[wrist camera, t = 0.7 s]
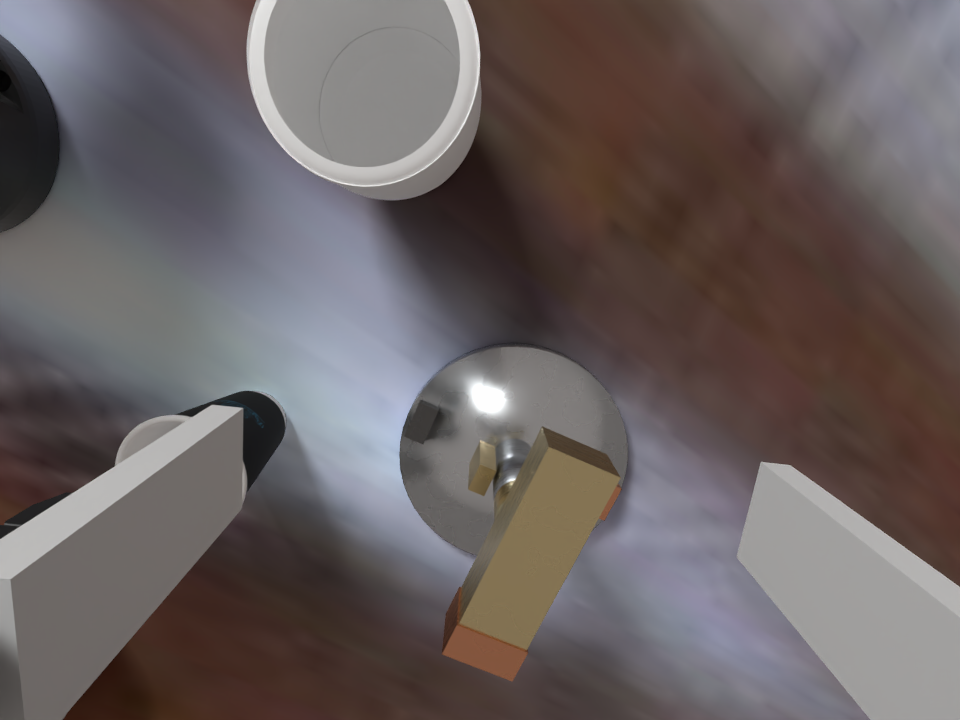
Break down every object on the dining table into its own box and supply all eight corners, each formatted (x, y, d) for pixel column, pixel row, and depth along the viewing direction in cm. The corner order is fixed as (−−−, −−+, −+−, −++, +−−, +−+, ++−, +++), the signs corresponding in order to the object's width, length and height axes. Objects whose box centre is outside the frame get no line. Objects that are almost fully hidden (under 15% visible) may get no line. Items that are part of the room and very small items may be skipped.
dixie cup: (296, 366, 41) (230, 409, 30) (313, 460, 43) (256, 532, 32) (198, 376, 41) (98, 423, 31) (219, 469, 43) (131, 543, 32)
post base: (369, 502, 44) (342, 562, 35) (455, 306, 40) (448, 321, 32) (562, 580, 45) (580, 656, 37) (662, 398, 42) (707, 436, 33)
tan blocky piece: (440, 524, 40) (421, 646, 28) (511, 374, 38) (525, 437, 26) (517, 555, 41) (532, 689, 29) (592, 410, 38) (644, 488, 26)
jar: (372, 24, 36) (296, -127, 21) (506, 95, 37) (522, -4, 22) (314, 170, 38) (209, 123, 23) (443, 234, 39) (419, 227, 24)
